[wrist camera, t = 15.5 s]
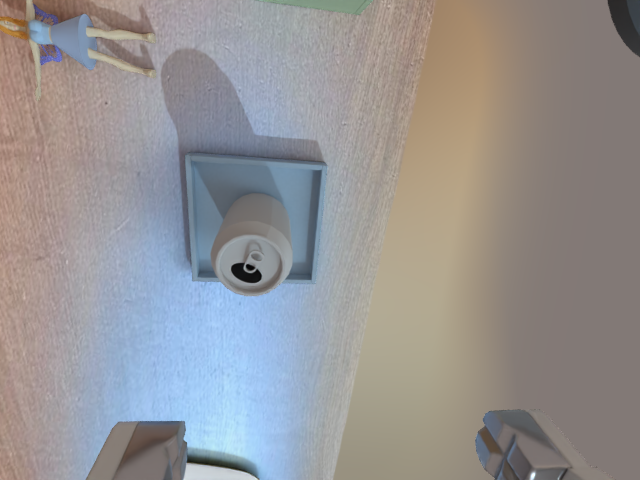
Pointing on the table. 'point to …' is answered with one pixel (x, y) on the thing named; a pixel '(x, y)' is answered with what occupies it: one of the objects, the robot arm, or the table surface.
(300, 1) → the bin
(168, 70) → the table surface
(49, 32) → the fairy figurine
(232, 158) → the tray
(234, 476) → the plate
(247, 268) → the can
